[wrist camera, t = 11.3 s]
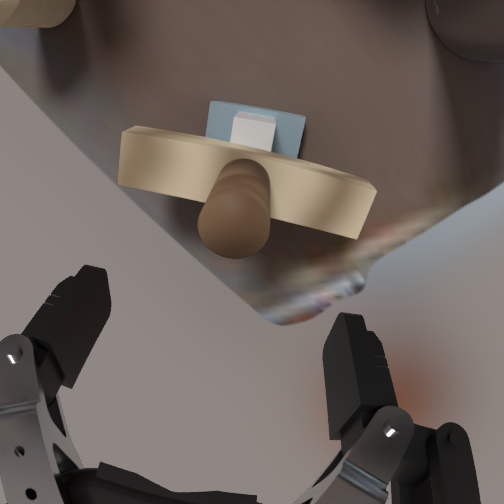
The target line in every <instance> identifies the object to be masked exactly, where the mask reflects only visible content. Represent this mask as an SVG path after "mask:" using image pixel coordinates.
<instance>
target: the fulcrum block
mask: <svg viewBox="0 0 504 504" xmlns="http://www.w3.org/2000/svg"><path fill="white" fill-rule="evenodd" d="M305 120H306V117H305V116H302V115H298V114H293V113H288V112H283V111H278V110H273V109H267V108H261V107H256V106H249V105H243V104H236V103H229V102H222V101H214V100H213V101H211V102H210V108H209V115H208V122H207V129H206V137H207V138H212V139H217V140H222V141H226V142H231V143H236V144H240V145H244V146H249V147H253V148H257V149H262V150H266V151H270V152H274V153H278V154H282V155H285V156H289V157H293V158H297V156H298V152H299V147H300V143H301V138H302V134H303V129H304V125H305Z"/></svg>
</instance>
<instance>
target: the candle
mask: <svg viewBox="0 0 504 504" xmlns="http://www.w3.org/2000/svg"><path fill="white" fill-rule="evenodd" d="M75 4H76V0H0V27H35V28H51V27H55V26H57V25H59V24H61V23H62V22H63V21H65V20H66V19H67V18H68V16H69V15H70V14H71V12H72V10H73V9H74V6H75Z"/></svg>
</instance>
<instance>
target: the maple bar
mask: <svg viewBox="0 0 504 504" xmlns="http://www.w3.org/2000/svg"><path fill="white" fill-rule="evenodd" d="M118 185H122V186H127V187H132V188H137V189H142V190H147V191H152V192H157V193H162V194H167V195H172V196H176V197H181V198H186V199H190V200H195V201H200V202H204V203H205V204H204V206H203V208H202V210H201V213H200V215H199V218H198V231H199V235H200V237H201V239H202V241H203V242H204V244H205V245H206V246H207V247H208V248H209V249H210V250H211V251H213V252H214V253H216V254H218V255H220V256H222V257H226V258H231V259H240V258H245V257H249V256H251V255H253V254H255V253H257V252H258V251H259V250H260V249H261V248H262V247H263V246H264V245H265V243H266V242H267V240H268V237H269V233H270V218H274V219H278V220H282V221H286V222H290V223H294V224H298V225H302V226H306V227H310V228H314V229H318V230H322V231H326V232H330V233H334V234H338V235H342V236H345V237H349V238H353V239H357V238H358V236H359V234H360V231H361V229H362V227H363V224H364V222H365V219H366V217H367V215H368V212H369V210H370V207H371V205H372V202H373V200H374V197H375V195H376V192H377V191H376V189H375V188H374V187H373V186H372V185H371V184H370V182H369V181H368V180H367V179H364V178H361V177H358V176H354V175H351V174H348V173H345V172H342V171H338V170H335V169H332V168H329V167H325V166H322V165H318V164H315V163H311V162H308V161H304V160H300V159H297V158H293V157H289V156H285V155H282V154H278V153H274V152H270V151H266V150H262V149H257V148H253V147H249V146H244V145H240V144H236V143H231V142H226V141H222V140H217V139H212V138H207V137H202V136H196V135H191V134H185V133H180V132H174V131H168V130H162V129H155V128H149V127H142V126H134V127H132V128H130V129H128V130H125V131H123V132H122V139H121V149H120V161H119V175H118Z"/></svg>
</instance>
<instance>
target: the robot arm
mask: <svg viewBox="0 0 504 504" xmlns="http://www.w3.org/2000/svg"><path fill="white" fill-rule="evenodd" d="M426 10H427V15H428V18H429V21H430V24H431V26H432V28H433V29H434V31H435V33H436V35H437V36H438V37H439V39H440V40H441V42H442V43H443V44H444V45H445V46H446V47H447V48H448V49H449V50H451V51H452V52H453V53H454V54H456V55H458V56H460V57H461V58H463V59H467V60H470V61H483V62H492V63H501V64H504V0H426ZM110 312H111V297H110V291H109V284H108V277H107V272H106V270H105V269H103V268H98V267H94V266H90V265H84V266H83V267H82V268H81V269H80V271H79V272H78V273H77V274H76V276H75V277H73V276H69V277H68V278H66V279H65V280H63V281H62V282H60V283H59V284H58V285H57V286H56V288H55V289H54V290H53V292H52V293H51V296H49V297H48V298H47V299H46V301H45V304H43V305H42V306H41V307H40V309H39V310H38V311H37V313H36V314H35V315H34V317H33V318H32V320H31V321H30V322H29V324H28V325H27V327H26V328H25V329H24V331H23V332H22V333H21V334H13V335H9V336H7V337H5V338H4V339H3V340H1V342H0V477H1V481H2V485H3V489H4V493H5V496H6V500H7V503H6V504H261V503H258V502H257V495H247V494H237V493H228V492H221V491H209V492H182V493H181V492H180V493H179V492H172V491H170V490H168V489H166V488H163V487H161V486H160V485H158V484H155V483H154V482H152V481H150V480H148V479H146V478H144V477H142V476H140V475H138V474H137V473H134V472H130V471H127V470H124V469H121V468H118V467H115V466H112V465H109V464H105V463H103V462H100V464H99V467H98V468H84V467H83V464H82V462H81V459H80V457H79V455H78V453H77V451H76V449H75V448H74V446H73V443H72V441H71V438H70V435H69V432H68V428H67V425H66V421H65V418H64V414H63V410H62V406H61V402H60V398H59V394H58V390H59V388H60V386H61V385H63V386H66V387H68V388H71V389H72V388H73V386H74V384H75V381H76V379H77V377H78V375H79V373H80V371H81V369H82V367H83V365H84V363H85V361H86V359H87V357H88V356H89V353H90V352H91V349H92V348H93V346H94V344H95V342H96V340H97V338H98V337H99V335H100V333H101V331H102V329H103V327H104V325H105V324H106V322H107V320H108V318H109V316H110ZM323 366H324V377H325V386H326V398H327V409H328V423H329V435H330V440H341V447H342V448H341V449H340V450H339V451H338V452H337V453H336V455H335V456H334V458H333V459H332V460H331V461H330V462H329V464H328V465H327V466H326V468H325V469H324V470H323V471H322V473H321V474H320V475H319V476H318V478H317V479H316V480H315V481H314V482H313V484H312V485H311V486H310V487H309V488H308V489H307V490H306V491H305V492H304V493H303V494H302V495H301V496H300V497H299V498H298V499H297V500H296V501H295V502H294V503H293V504H385V502H386V500H387V498H388V492H387V491H386V487H387V485H388V483H389V481H391V493H392V504H481V502H480V494H479V488H478V481H477V476H476V470H475V465H474V460H473V455H472V450H471V446H470V442H469V438H468V435H467V433H466V431H465V430H464V429H463V428H462V427H461V426H460V425H458V424H456V423H453V422H449V423H445V424H443V425H442V426H441V427H439V428H438V429H437V430H435V429H431V428H427V427H424V426H420V425H417V424H414V423H413V420H412V418H411V417H410V415H409V414H408V413H407V412H406V411H404V410H403V409H401V408H399V407H398V404H397V399H396V395H395V391H394V387H393V383H392V380H391V375H390V372H389V368H387V367H388V364H387V360H386V358H385V353H384V350H383V346H382V343H381V341H380V340H379V339H378V337H377V336H376V335H375V333H374V332H373V331H367V329H366V326H365V322H364V318H363V316H362V315H358V314H351V313H343V312H341V313H339V315H338V316H337V318H336V321H335V323H334V325H333V327H332V329H331V331H330V333H329V335H328V337H327V340H326V342H325V344H324V348H323ZM431 484H432V485H431ZM432 493H433V494H432Z"/></svg>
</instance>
